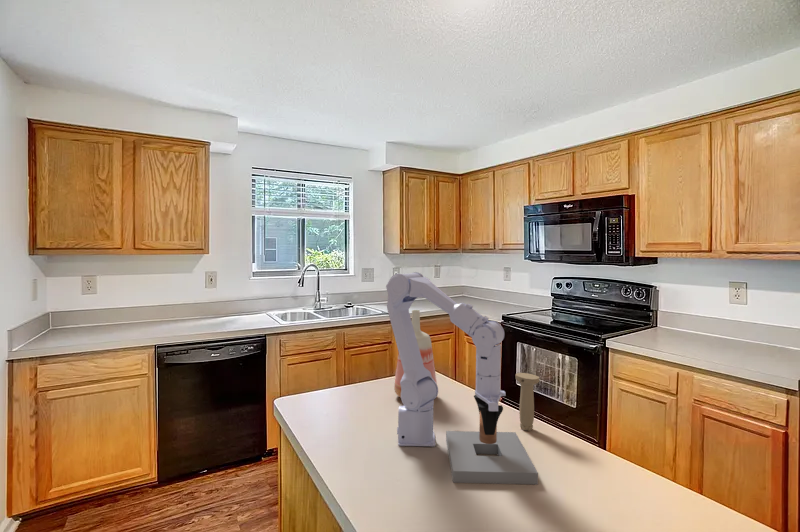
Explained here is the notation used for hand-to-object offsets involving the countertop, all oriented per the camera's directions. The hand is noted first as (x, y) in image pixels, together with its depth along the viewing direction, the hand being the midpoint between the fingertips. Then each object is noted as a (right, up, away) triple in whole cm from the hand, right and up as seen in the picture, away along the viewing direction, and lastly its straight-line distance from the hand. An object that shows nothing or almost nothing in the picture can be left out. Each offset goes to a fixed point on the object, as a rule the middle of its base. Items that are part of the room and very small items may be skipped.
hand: (487, 430), depth 99 cm
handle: (+15, -7, +18) cm, 24 cm away
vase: (-15, -6, +43) cm, 46 cm away
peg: (0, -2, 0) cm, 2 cm away
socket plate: (0, -7, 0) cm, 7 cm away
